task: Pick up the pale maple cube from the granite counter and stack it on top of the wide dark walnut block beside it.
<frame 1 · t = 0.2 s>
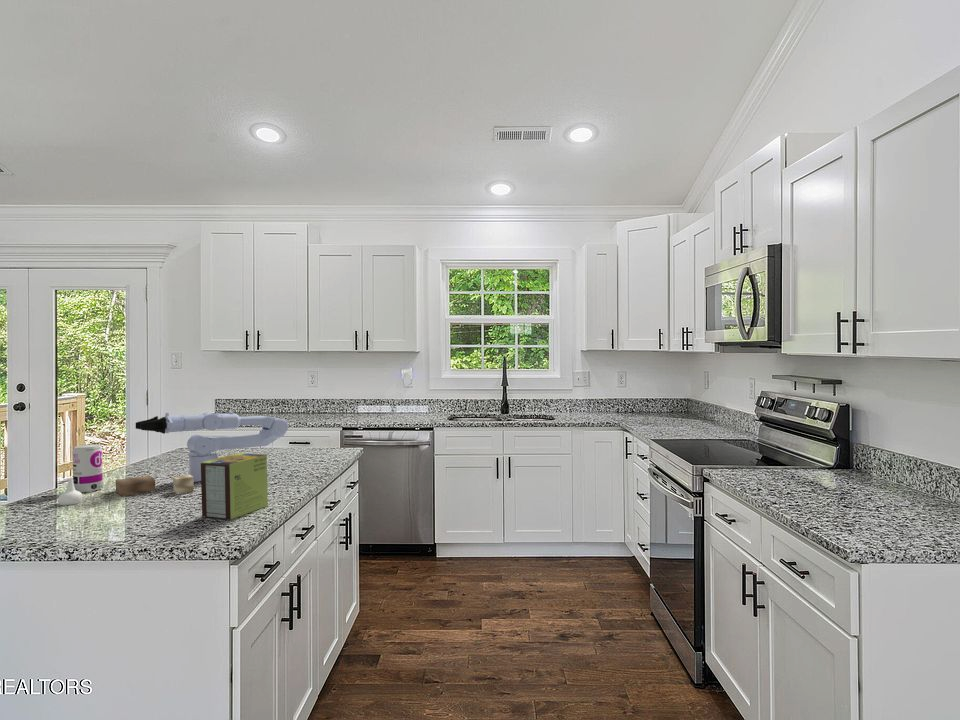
hand: (138, 426, 194), 21 cm above the countertop, tool horizontal, fingers open, 7 cm apart
maple cube: (183, 491, 190), on the countertop
walnut block: (135, 492, 191), on the countertop
garlic bulb: (70, 504, 177), on the countertop
protein box: (235, 512, 166), on the countertop
supplement can: (88, 491, 193), on the countertop
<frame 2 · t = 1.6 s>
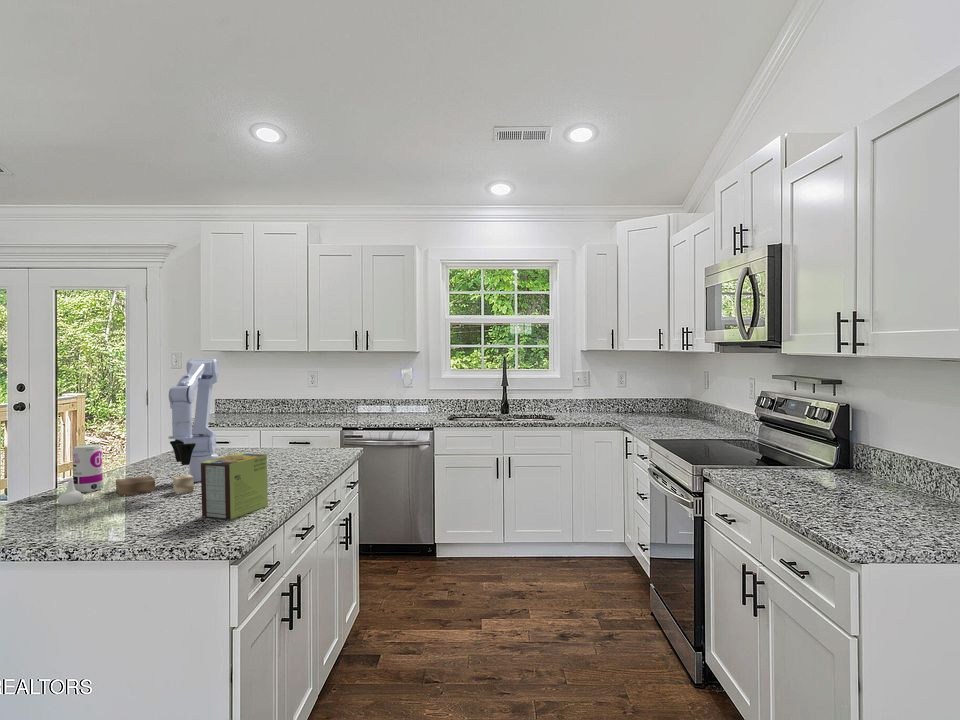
hand: (182, 463, 189), 9 cm above the countertop, tool pointing down, fingers open, 7 cm apart
nothing on the countertop moved.
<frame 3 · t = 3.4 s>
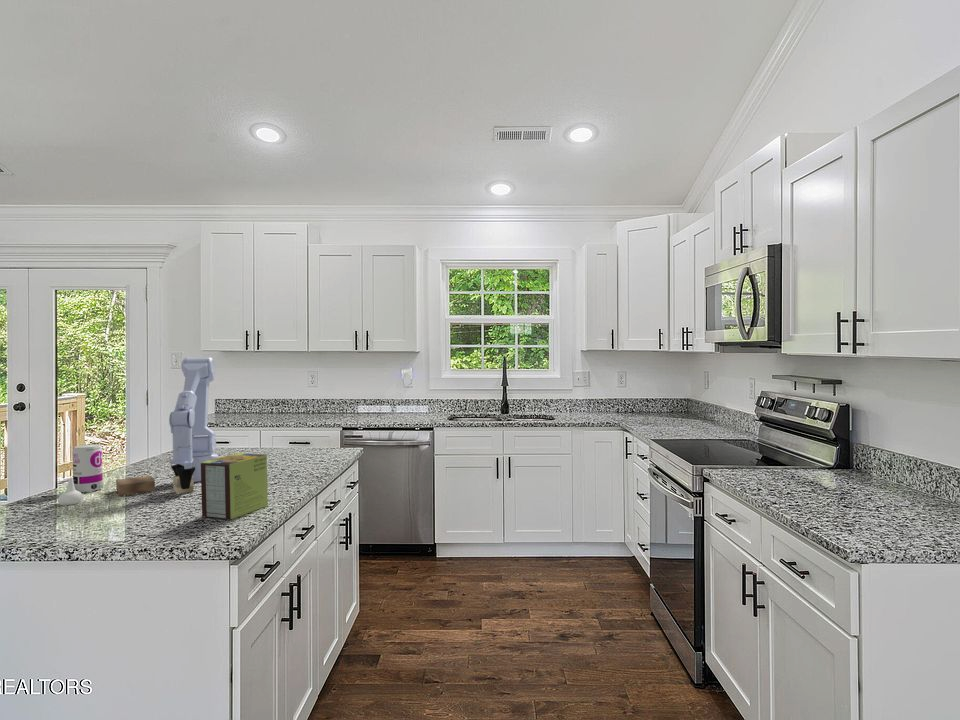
hand: (183, 487, 189), 1 cm above the countertop, tool pointing down, fingers closed on maple cube, 5 cm apart
maple cube: (183, 491, 189), on the countertop, touching gripper
everything else where it was.
when the fingers open (6 cm above the countertop, at t = 8.8 s): maple cube drops 1 cm, resting on walnut block.
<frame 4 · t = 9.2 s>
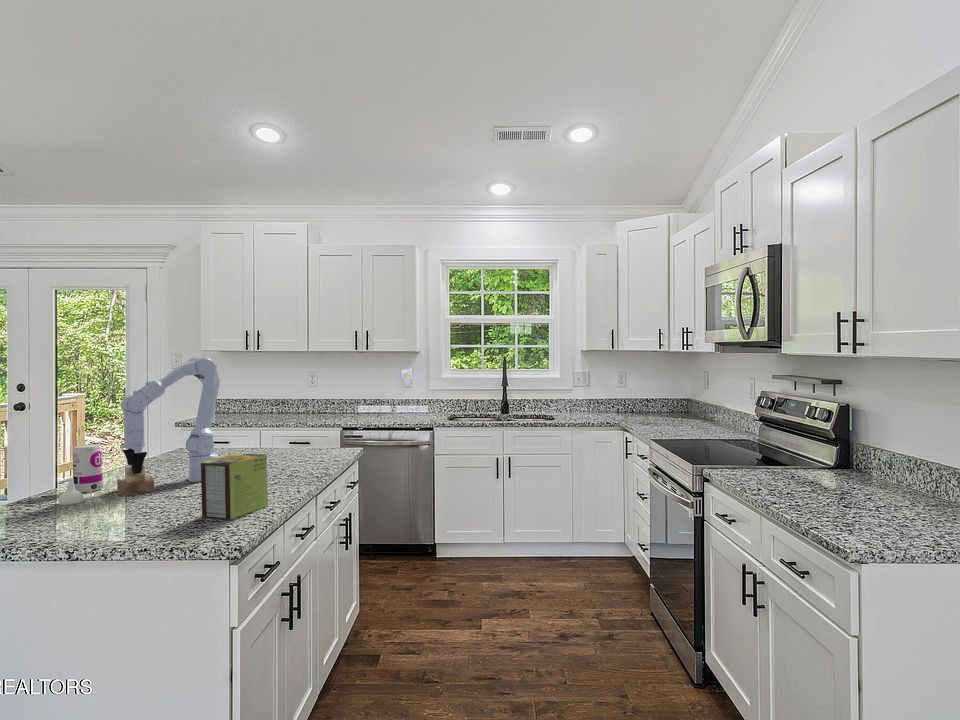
hand: (135, 471, 191), 6 cm above the countertop, tool pointing down, fingers open, 7 cm apart
maple cube: (134, 480, 191), point 4 cm above the countertop, touching walnut block
walnut block: (135, 492, 191), on the countertop, touching maple cube
everything else where it was.
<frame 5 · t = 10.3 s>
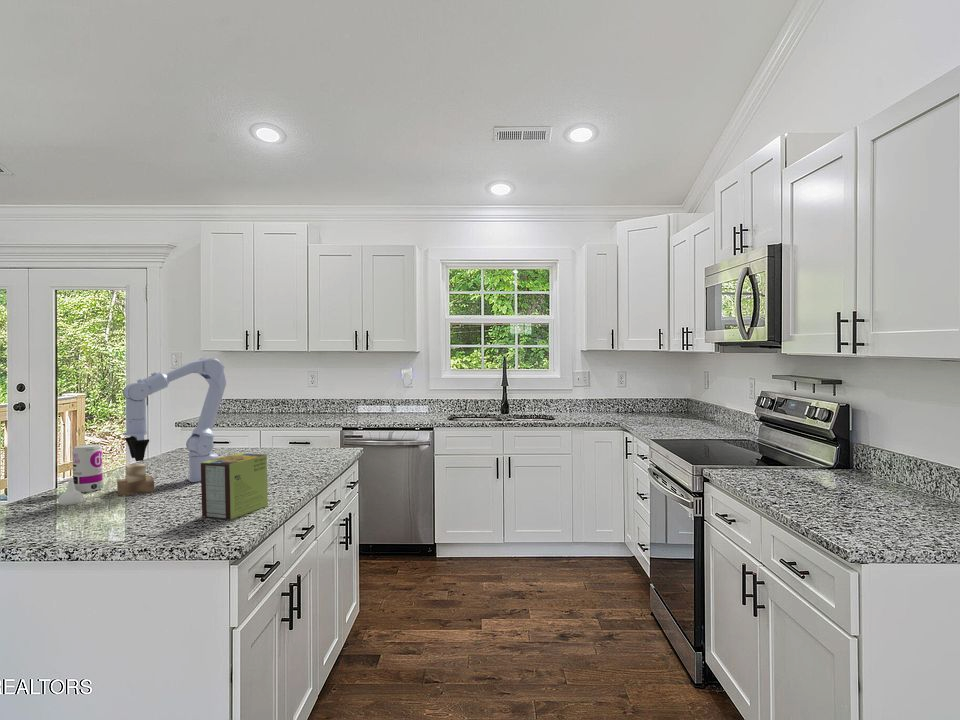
hand: (137, 459, 193), 10 cm above the countertop, tool pointing down, fingers open, 7 cm apart
maple cube: (135, 480, 191), point 4 cm above the countertop
walnut block: (135, 492, 191), on the countertop
everything else where it was.
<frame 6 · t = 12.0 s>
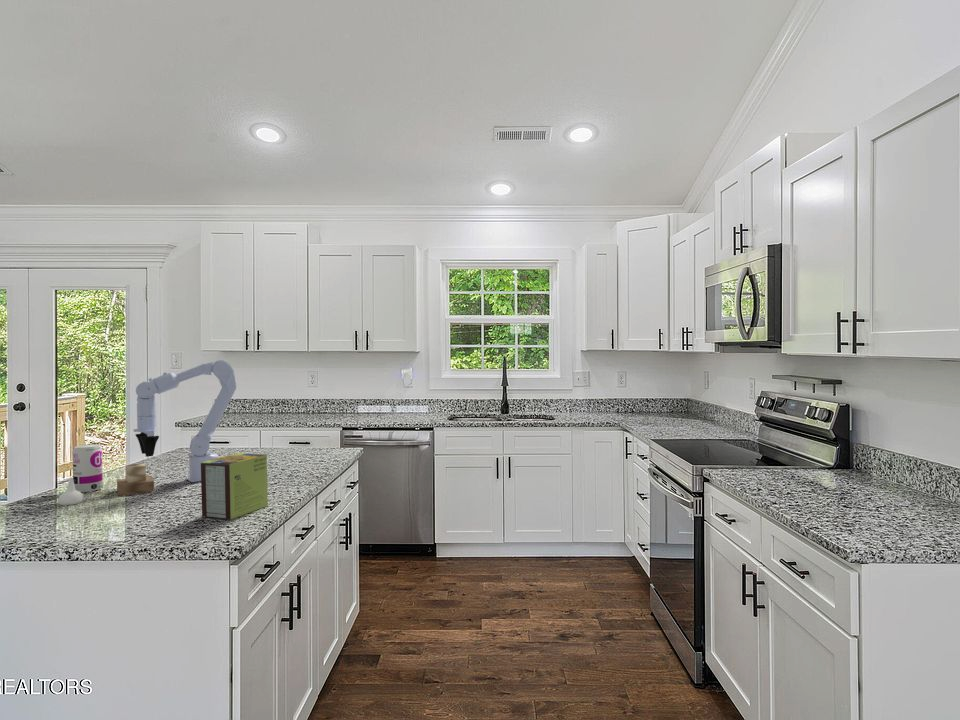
hand: (147, 454, 200), 10 cm above the countertop, tool pointing down, fingers open, 7 cm apart
maple cube: (135, 480, 191), point 4 cm above the countertop, touching walnut block
walnut block: (135, 492, 191), on the countertop, touching maple cube
everything else where it was.
at the end: maple cube 0.2 cm off-centre on the walnut block, point 4.0 cm above the walnut block's base; maple cube touching walnut block; the gripper is holding nothing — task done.
